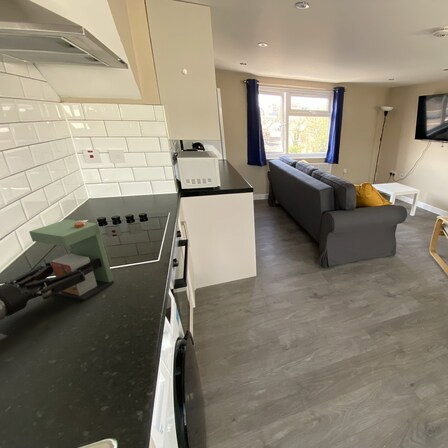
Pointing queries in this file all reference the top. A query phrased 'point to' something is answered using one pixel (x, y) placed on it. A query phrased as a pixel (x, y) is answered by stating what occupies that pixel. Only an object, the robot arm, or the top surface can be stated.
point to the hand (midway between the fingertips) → (88, 260)
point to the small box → (70, 265)
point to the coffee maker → (78, 249)
